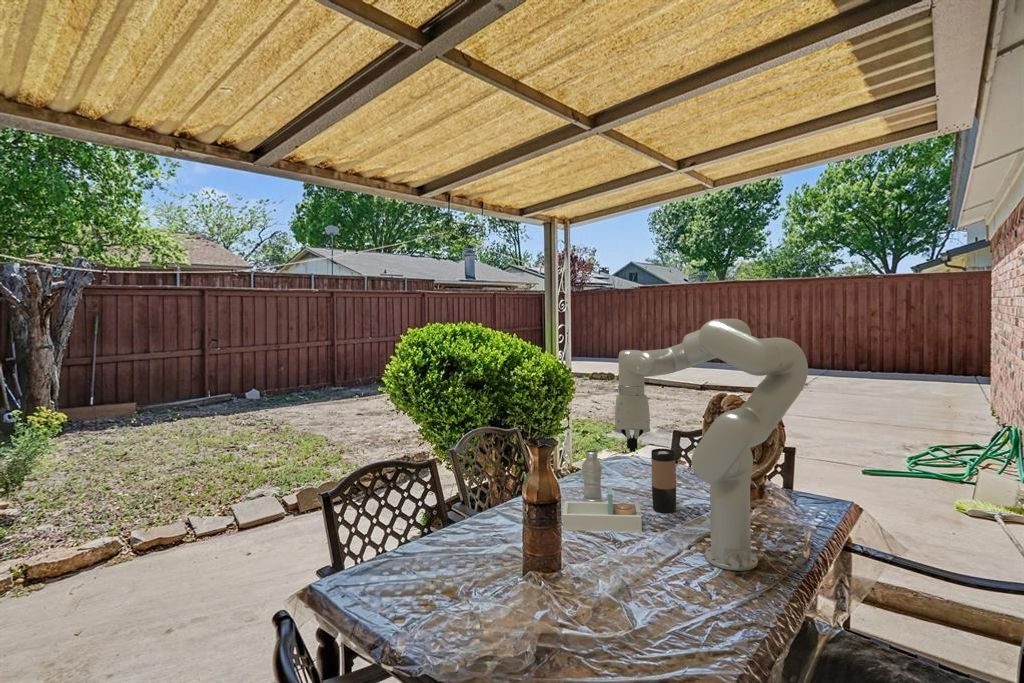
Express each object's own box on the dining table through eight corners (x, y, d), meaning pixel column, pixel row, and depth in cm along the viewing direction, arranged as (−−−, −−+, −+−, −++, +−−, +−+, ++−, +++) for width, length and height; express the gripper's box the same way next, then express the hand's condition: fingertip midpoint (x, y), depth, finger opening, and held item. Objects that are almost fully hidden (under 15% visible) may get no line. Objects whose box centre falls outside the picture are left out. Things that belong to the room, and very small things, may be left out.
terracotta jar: (634, 527, 156) (634, 509, 156) (614, 527, 157) (614, 508, 157) (633, 520, 162) (632, 502, 162) (613, 519, 163) (613, 502, 163)
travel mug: (674, 508, 174) (672, 448, 173) (679, 516, 166) (677, 454, 166) (650, 507, 175) (649, 448, 174) (654, 516, 167) (653, 454, 166)
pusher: (613, 527, 156) (612, 494, 156) (609, 527, 156) (608, 494, 156) (612, 517, 164) (611, 485, 164) (608, 517, 165) (607, 485, 164)
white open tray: (641, 534, 153) (641, 513, 153) (563, 532, 156) (562, 511, 156) (638, 519, 165) (637, 499, 165) (565, 517, 168) (564, 498, 168)
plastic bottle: (603, 515, 169) (601, 454, 168) (582, 514, 170) (580, 453, 170) (603, 508, 175) (602, 449, 175) (583, 507, 177) (582, 448, 176)
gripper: (606, 392, 155) (607, 453, 156) (658, 392, 153) (659, 454, 154) (606, 389, 163) (606, 447, 163) (655, 389, 161) (656, 448, 161)
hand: (632, 450), depth 159 cm, fingers closed
